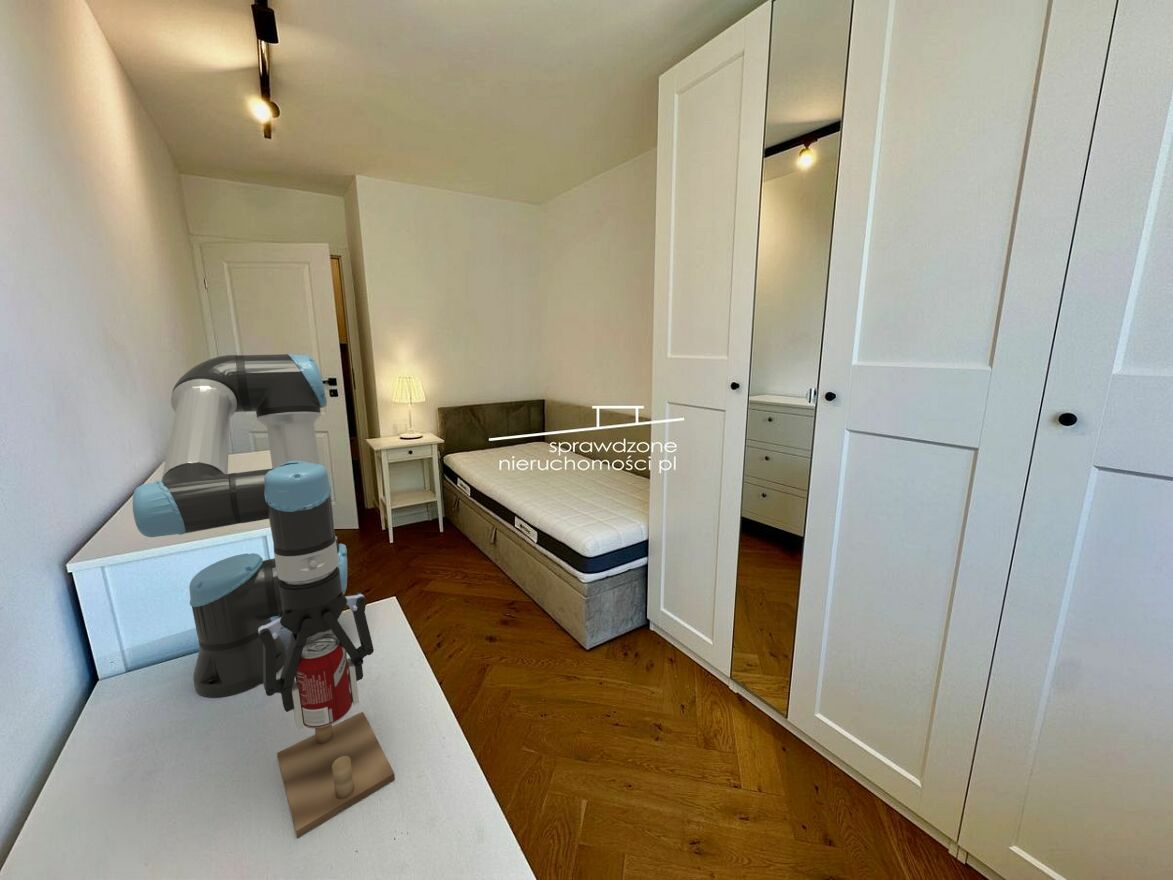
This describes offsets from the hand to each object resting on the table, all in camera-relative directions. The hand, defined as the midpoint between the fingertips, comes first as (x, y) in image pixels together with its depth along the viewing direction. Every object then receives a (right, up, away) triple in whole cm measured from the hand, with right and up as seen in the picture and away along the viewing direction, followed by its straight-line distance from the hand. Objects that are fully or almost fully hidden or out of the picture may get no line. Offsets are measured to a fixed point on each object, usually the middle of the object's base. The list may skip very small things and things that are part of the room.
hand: (327, 711), depth 70 cm
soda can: (0, -1, 0) cm, 1 cm away
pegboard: (0, -11, +2) cm, 11 cm away
